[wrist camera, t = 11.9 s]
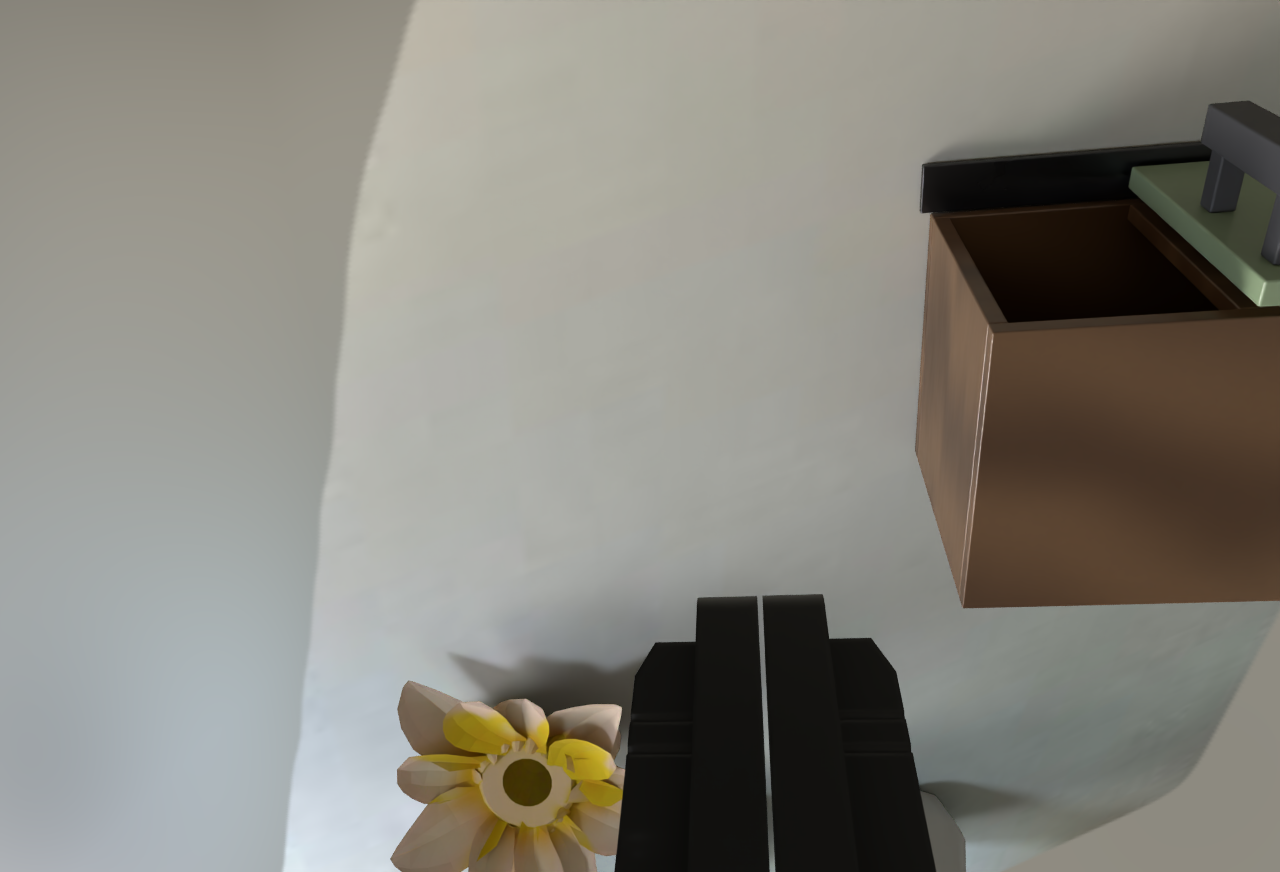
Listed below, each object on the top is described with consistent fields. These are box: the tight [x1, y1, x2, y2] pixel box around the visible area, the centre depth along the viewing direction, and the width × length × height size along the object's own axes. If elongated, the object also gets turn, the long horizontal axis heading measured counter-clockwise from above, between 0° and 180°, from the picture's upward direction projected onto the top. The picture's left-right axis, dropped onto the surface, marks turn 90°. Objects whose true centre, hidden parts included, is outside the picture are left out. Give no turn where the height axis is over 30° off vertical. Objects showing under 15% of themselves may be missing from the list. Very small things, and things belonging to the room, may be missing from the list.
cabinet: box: [915, 142, 1280, 608], centre depth 33 cm, size 13×15×10 cm
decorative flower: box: [391, 681, 625, 872], centre depth 50 cm, size 15×11×10 cm
